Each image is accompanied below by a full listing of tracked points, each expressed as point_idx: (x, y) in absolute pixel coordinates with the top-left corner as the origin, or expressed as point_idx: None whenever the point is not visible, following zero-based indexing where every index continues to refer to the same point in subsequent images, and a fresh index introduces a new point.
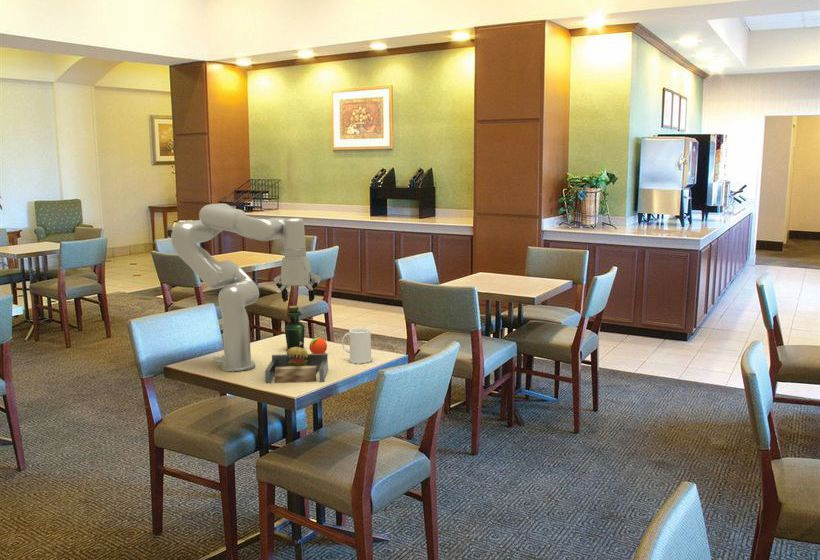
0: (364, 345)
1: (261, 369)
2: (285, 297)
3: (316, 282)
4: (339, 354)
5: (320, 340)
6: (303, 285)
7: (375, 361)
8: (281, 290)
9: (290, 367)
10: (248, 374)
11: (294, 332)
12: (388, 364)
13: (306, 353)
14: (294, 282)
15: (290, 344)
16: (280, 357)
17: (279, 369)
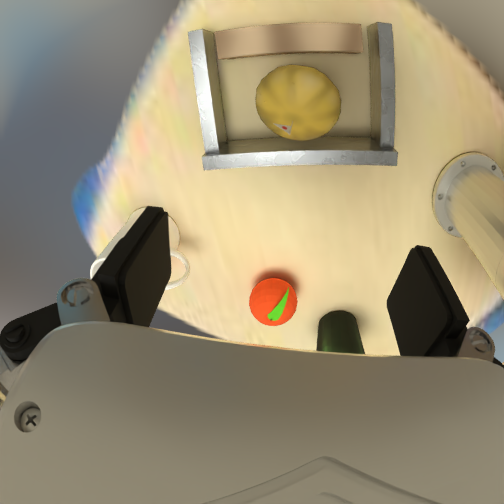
0: (114, 237)
1: (415, 167)
2: (418, 281)
3: (5, 354)
4: (221, 286)
5: (262, 307)
6: (136, 326)
7: (119, 226)
8: (476, 330)
9: (309, 38)
10: (443, 123)
11: (340, 347)
12: (86, 203)
13: (257, 92)
14: (322, 402)
15: (349, 324)
16: (367, 149)
17: (344, 23)
